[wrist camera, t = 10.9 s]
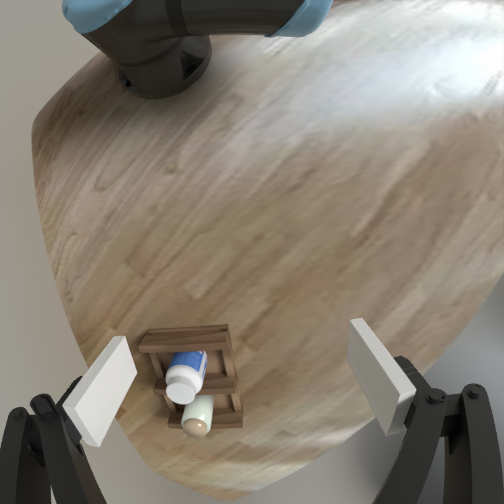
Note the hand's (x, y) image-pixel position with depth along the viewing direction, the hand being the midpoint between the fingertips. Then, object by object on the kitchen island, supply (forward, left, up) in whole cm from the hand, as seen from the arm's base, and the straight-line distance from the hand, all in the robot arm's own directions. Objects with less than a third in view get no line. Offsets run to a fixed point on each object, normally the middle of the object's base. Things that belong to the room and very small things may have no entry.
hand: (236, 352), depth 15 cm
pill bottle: (+15, -10, -25) cm, 31 cm away
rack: (+20, -10, -26) cm, 34 cm away
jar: (+24, -10, -25) cm, 36 cm away
